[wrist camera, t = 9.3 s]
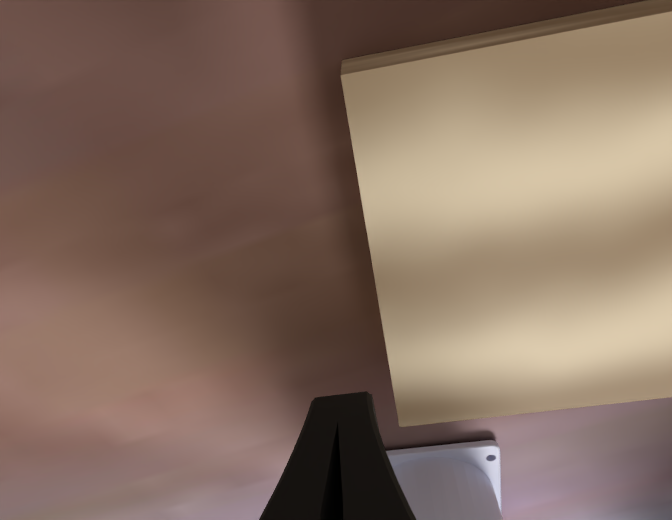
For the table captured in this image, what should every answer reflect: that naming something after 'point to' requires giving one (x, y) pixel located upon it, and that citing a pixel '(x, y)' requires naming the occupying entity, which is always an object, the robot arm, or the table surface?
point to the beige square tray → (521, 213)
